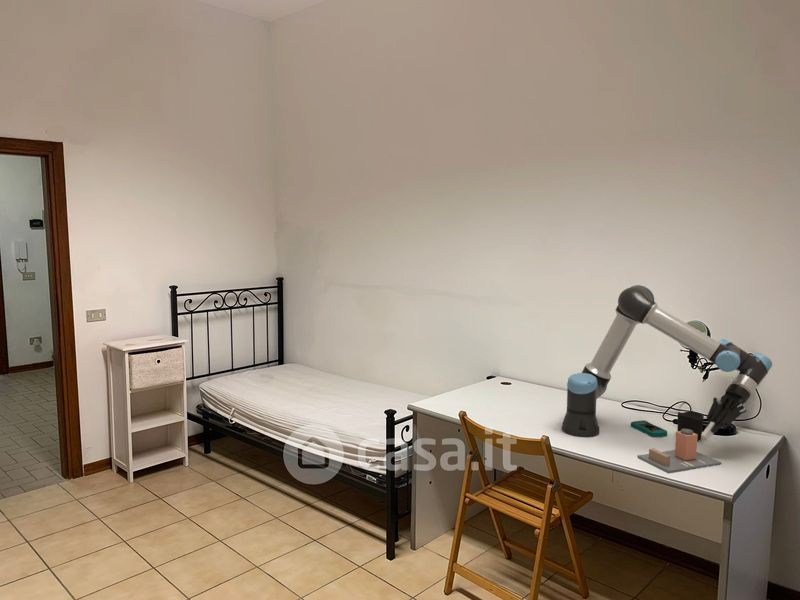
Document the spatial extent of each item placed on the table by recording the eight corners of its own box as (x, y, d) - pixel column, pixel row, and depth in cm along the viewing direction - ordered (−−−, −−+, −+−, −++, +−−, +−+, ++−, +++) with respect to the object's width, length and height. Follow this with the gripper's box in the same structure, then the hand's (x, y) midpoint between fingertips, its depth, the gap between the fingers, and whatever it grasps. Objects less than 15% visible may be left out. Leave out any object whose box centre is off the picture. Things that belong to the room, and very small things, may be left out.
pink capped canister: (685, 453, 215) (686, 427, 214) (696, 458, 210) (697, 431, 209) (674, 455, 213) (676, 429, 212) (685, 460, 208) (687, 433, 207)
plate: (688, 449, 222) (688, 439, 221) (721, 464, 208) (722, 452, 207) (637, 457, 214) (637, 446, 213) (668, 473, 200) (669, 461, 199)
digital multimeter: (653, 439, 235) (653, 431, 235) (629, 427, 249) (630, 420, 249) (668, 437, 237) (669, 430, 237) (644, 425, 251) (644, 419, 251)
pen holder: (676, 432, 241) (678, 409, 240) (702, 436, 237) (703, 412, 236) (675, 439, 233) (677, 415, 232) (702, 443, 229) (703, 418, 228)
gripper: (761, 400, 212) (724, 449, 208) (730, 391, 224) (695, 438, 220) (751, 387, 210) (714, 437, 206) (721, 379, 222) (685, 426, 218)
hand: (704, 437), depth 213 cm, fingers closed
